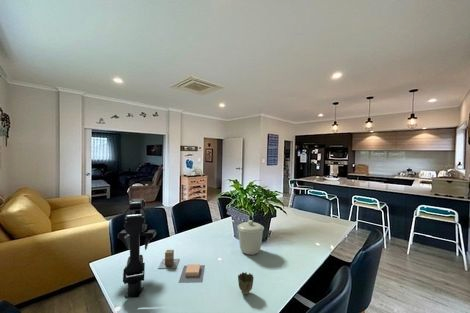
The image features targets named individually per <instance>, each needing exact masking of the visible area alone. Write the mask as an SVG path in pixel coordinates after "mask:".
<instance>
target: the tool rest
mask: <svg viewBox="0 0 470 313" xmlns="http://www.w3.org/2000/svg"><path fill="white" fill-rule="evenodd" d="M179 262H180V258H174V262H173V264H172V265H165V258H162V260H161V262H160V264H159V265H158V267H157V269H158V270H170V269H175V270H176V269H177V267H178V264H179Z"/></svg>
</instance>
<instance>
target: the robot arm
mask: <svg viewBox="0 0 470 313" xmlns="http://www.w3.org/2000/svg"><path fill="white" fill-rule="evenodd" d="M146 204H147V202H146V200H145V198H132V199H131V200H130V201H129V203H128V208H127V209H126V210H125V211H124V214H123V224H122V225H123V227H124V229H122V230H121V231H120V232H118V234H117V240H118V239H119V240H120V241H122V242H123V244H124V246H125V247H126V249H127V250H128V251H129V256H128V258H127V261H126V265H125V267H124V268H123V274H122V283H123V284H124V285H127V292H126V293H125V295H124V298H139V297H140V296H141V294H142V293H143V291H144V290H145V287H144V286H142V282H143V281H145V270H146V269H145V268H146V267H145V265H146V263H145V262H144V256H143V254H140V253H141V252H140V251H141V250H140V244H141V240H140V238H141V237H145V238H144V250H145V251H146V250H147V249H148V246H149V244H150V241H151V240H152V239H154V238H155V237H156V235H157V230H156V229H148V230H147V227H148V224H147V223H146V209H147V208H146ZM146 230H147V231H146Z"/></svg>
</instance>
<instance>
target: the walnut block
mask: <svg viewBox="0 0 470 313" xmlns="http://www.w3.org/2000/svg"><path fill="white" fill-rule="evenodd" d="M174 251H175V250H174V249H166V251H165V252H164V259H165V265H172V264H173V262H174V259H175V257H174V256H175V252H174Z"/></svg>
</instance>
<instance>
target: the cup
mask: <svg viewBox="0 0 470 313" xmlns="http://www.w3.org/2000/svg"><path fill="white" fill-rule="evenodd" d="M254 278H255V277H254V275H253V273H252V274H251V272H250V273H247V272H244V271H243V272H241V273H239V274H238V276H237V282H238V288H239V290H240V292H241V293H242V295H244V296H248V295H250V292H251V290H252V289H253V284H254Z"/></svg>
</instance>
